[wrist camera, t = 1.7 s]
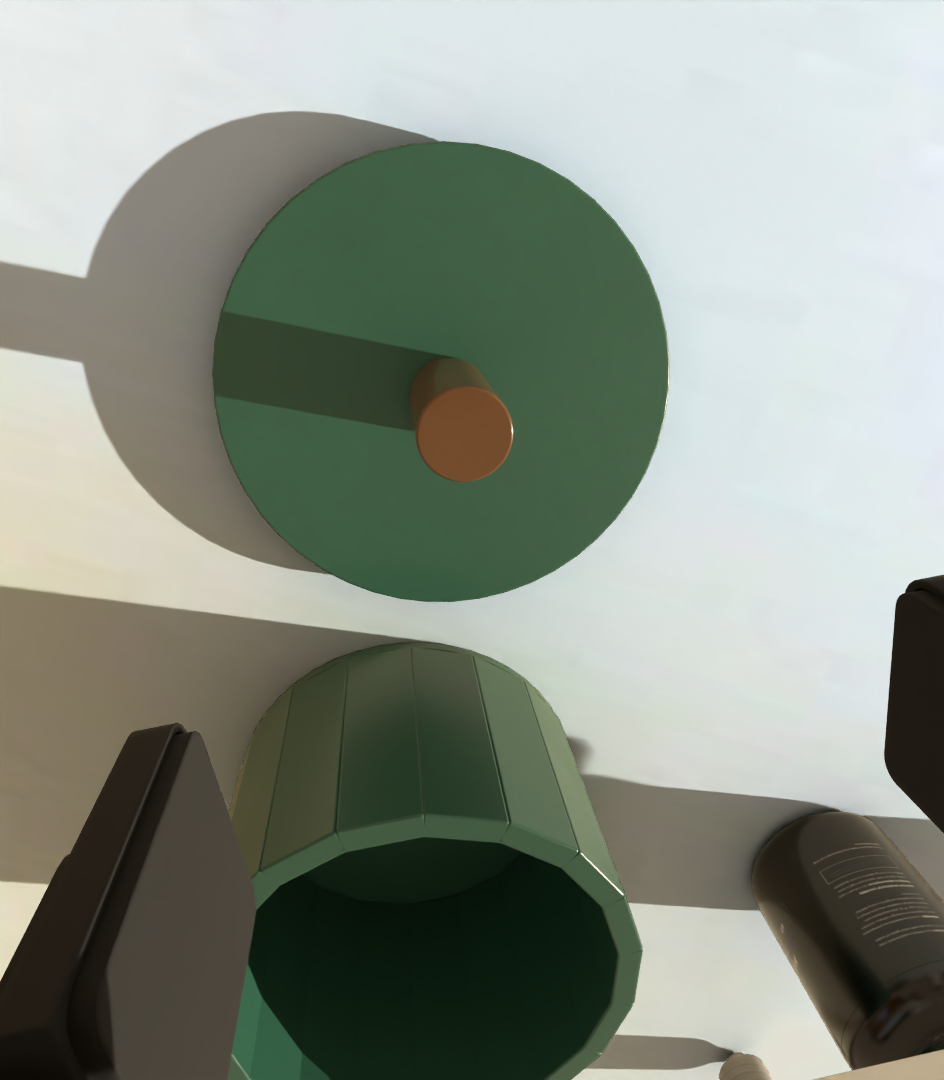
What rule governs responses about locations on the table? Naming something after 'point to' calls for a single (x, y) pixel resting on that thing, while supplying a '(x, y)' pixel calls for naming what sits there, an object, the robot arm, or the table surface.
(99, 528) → the table surface
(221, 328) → the tin lid
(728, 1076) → the lightbulb
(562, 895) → the tin
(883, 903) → the supplement bottle
